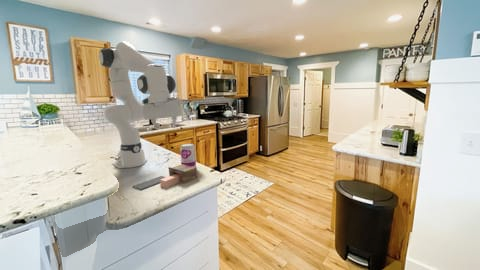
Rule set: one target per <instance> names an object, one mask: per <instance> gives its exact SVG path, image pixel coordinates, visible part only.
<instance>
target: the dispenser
mask: <svg viewBox="0 0 480 270" xmlns="http://www.w3.org/2000/svg"><path fill="white" fill-rule="evenodd" d="M167 168H168V174H169V175H168V177H169V176H171V175H174V174H177V173H179V174H180V182H179V183H182V184H186V183H189V182H191V181H193V180H195V179H198V170H197V166H196V167H193V166H188V165H184V164H179V165H176V166H174V167H171V166H169V167H167Z"/></svg>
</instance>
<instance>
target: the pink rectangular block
mask: <svg viewBox="0 0 480 270" xmlns="http://www.w3.org/2000/svg"><path fill="white" fill-rule="evenodd" d="M165 177H166V178H163V179H160V183H159V184H160V187H163V188H166V189H167V188H168V187H170V186H171V187H172V186H174V185H175V184H178V183H181V182H180V174H179V173H177V174H174V175H171V176H169V175H168V176H165Z"/></svg>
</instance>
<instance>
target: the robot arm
mask: <svg viewBox="0 0 480 270" xmlns="http://www.w3.org/2000/svg"><path fill="white" fill-rule="evenodd" d="M98 59H99V62H100V64H101V66H103V68H104V67H105V68H108V70H109V72H108V73H109V82H110V86H111V90H112V95H113V96H114V98H115V99H116V100H119V101H121V102H122V103H123V104H115V105H110V106H107V107H106V108H105V109H104V118H105V120H106V121H107V122H108V123H111V124H112V125H113V126H114V127H115V128H116V129H117V130H118V133H119V137H120V146H119V147H120V148H119V149H120V150H119V151H118V153H117V154H116V155H115V157H114V160H115V161H114V162H112V165H113V166H115V168H117V169H125V168H136V167H140V166H143V165H145V164H146V162H148V160H147V159H146V156H145V151H144V149H142V147H143V146H142V142H141V135H140V130H138V128H135V127H132V125H131V124H130V123H133V122H141V121H143V120H148V121H149V120H151V121H150V122H151V123H152V125H153V127H154V129H159V128H160V124H159V123H157V122H156V121H157V119H166V118H167V119H169V118H171V120H172V122H171V123H170V127H171V128H174V127H176V122H177V119H178V117H182V116H183V115H184V110H183V107H182V105H181V104H182V103H181V102H182V101H181V99H180V98H179V97H177V96H174V97H171V96H170V94H172V93H173V92H174V91H175V89H176V81H175V79H174V77H173V76H172V75H170V74H169V73H166V70H165V67H164V65H161V64H156V63H155V62H153V61H152V60H150V59H148V58H147V57H145V56H144V55H142V54H141V53H140V52H139V50H138V49H137V48H135V46H133V45H132V44H130V42H127V41H121V42H118V44H116V46H115V48H110V47H108V48H102V49H101V50H99V51H98ZM129 72H134V73H141V75H139V77H138V78H137V80H136V82H137V88H138V91H139V92H141V93H142V94H144V95H149V96H147V97H145V98H143V99H142V100H141V102H140V101H139V100H138V99H137V98H136V96H135V94H134V91H133V88H132V84H131V80H130V76H129Z"/></svg>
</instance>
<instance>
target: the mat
mask: <svg viewBox="0 0 480 270" xmlns="http://www.w3.org/2000/svg"><path fill="white" fill-rule="evenodd" d="M166 177H167V176H164V175H160V176H158V177H155V178H151V179H149V180H145V181H143V182H139V183H137V184H134V185H132V188H134V189H136V190H139V191H142V190H145V189H147V188H150V187H154V186H155V185H158V184H160V179H163V178H166Z"/></svg>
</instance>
